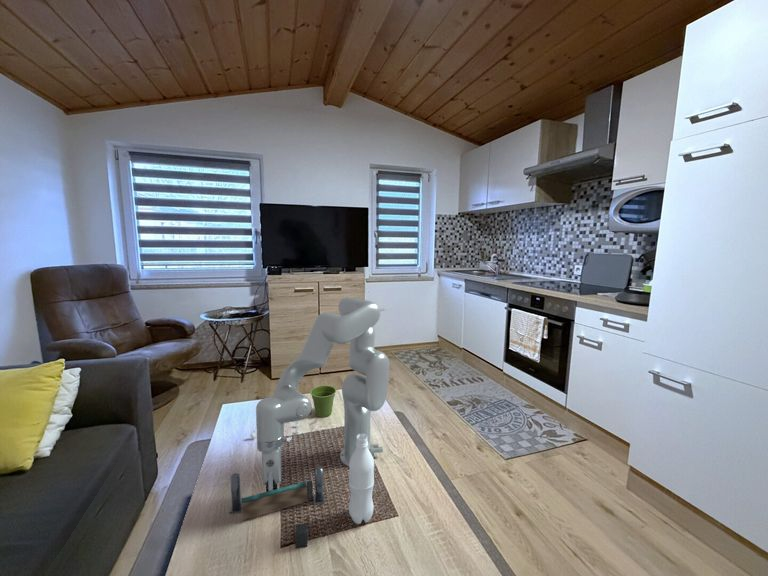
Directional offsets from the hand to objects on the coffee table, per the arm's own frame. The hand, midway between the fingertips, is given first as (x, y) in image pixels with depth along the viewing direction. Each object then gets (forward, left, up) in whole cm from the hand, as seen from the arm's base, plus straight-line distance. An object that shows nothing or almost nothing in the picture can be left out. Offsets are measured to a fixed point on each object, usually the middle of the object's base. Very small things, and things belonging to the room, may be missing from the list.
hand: (271, 497), depth 98 cm
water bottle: (-26, +8, -2) cm, 28 cm away
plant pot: (-14, -52, -3) cm, 53 cm away
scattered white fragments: (+5, -39, -3) cm, 39 cm away
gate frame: (-2, +7, -2) cm, 8 cm away
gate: (-2, +3, -1) cm, 4 cm away
